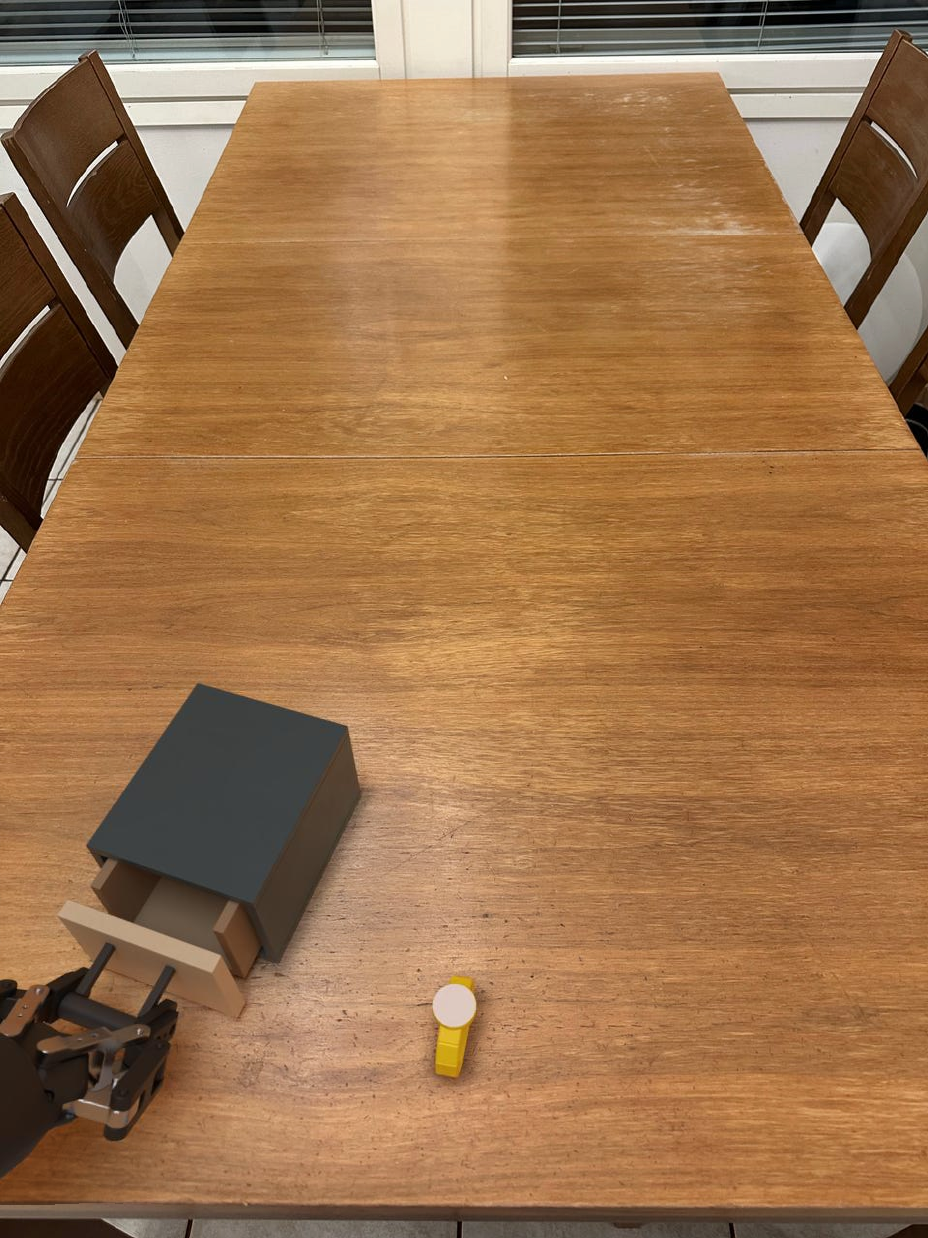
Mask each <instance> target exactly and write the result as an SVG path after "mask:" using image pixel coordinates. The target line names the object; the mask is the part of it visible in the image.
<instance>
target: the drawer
mask: <svg viewBox="0 0 928 1238" xmlns="http://www.w3.org/2000/svg"><path fill="white" fill-rule="evenodd" d="M89 887H90V889H92V892H93V893H94V894H95V895H96V897H97V898H98V900H99V901H100V903H101V904H102V906H103V907H104V909H105V910H106V911H107V913H106V912H104V911H101V910H98V909H95V908H92V907H90V906H88V905H84V904H82V903H79V902H77V901H73V900H71V899H67V900H66V901H65V902H64V904H63V906H62V907H61V908H60V910H59V911H58V913H57V914H56V917H58V920H60V922H61V923H62V924H63V925H64V926H65V928H66V929H67V930H68V931H69V933H70V934H71V936H72V937H73V938H74V939H75V940H76V942H77V944H78V945H79V946H80V947H81V948H82V949H83V951H84V952H85V954H87V956H88V957H89V958H90V960H91V961H92V964H91V966H90V967H89V970H88V972H87V973H86V975H85V977H84V978H83V980H82V981H81V983H80V985H79V986H78V988H77V989H76V991H75V992H76V993H74V992H70V993H68V994H67V995H66V996H65V997H64V998H63V999H62V1001H61V1003H60V1005H59V1008H58V1017H59V1018H60V1019H61V1020H63V1021H66V1022H68V1023H71V1024H74V1025H76V1026H78V1027H80V1028H83V1029H86V1030H87V1031H89V1030H92V1029H96V1028H99V1027H106V1028H107V1029H109V1030H110V1031H111V1032H112V1031H115V1030H118V1029H122V1028H125V1027H128V1026H132V1025H134V1023H135V1021H136V1020H137V1019H138V1018H140V1017H141V1016H143V1015H144V1014H145V1013H147V1012H148V1011H149V1010H151V1009H152V1008H153V1007H155V1006H156V1005H158V1004H159V1003H160V1002H161V999H162V997H163V995H164V993H165V992H168V993H170V994H172V995H175V996H178V997H179V998H183V999H186V1000H188V1001H191V1002H194V1003H196V1004H199V1005H202V1006H204V1007H207V1008H210V1009H212V1010H215V1011H217V1012H219V1013H220V1012H221V1013H223V1014H225V1015H227V1016H231V1017H233V1018H236V1019H238V1018H239V1015H240V1013H241V1012H242V1010H243V1008H244V1006H245V1003H246V1000H245V998H244V996H243V994H242V992H241V990H240V988H239V987H238V984H237V982H236V981H235V979H234V977H233V975H235V976H238V977H242V978H243V979H245V978H246V977H247V976H248V973H249V971H250V970H251V967H252V965H253V963H254V961H255V959H256V958H257V957H258V956H257V954H258V952H259V950H260V948H261V946H262V944H261V941H260V939H259V937H258V935H257V932H256V930H255V928H254V925H253V923H252V921H251V919H250V916H249V914H248V912H247V909H246V907H245V905H243V904H240V903H237V902H234V901H231V900H228V899H225V898H222V897H220V896H217V895H214V894H211V893H208V892H205V891H202V890H199V889H197V888H194V887H191V886H188V885H185V884H182V883H179V882H176V881H174V880H171V879H168V878H165V877H162V876H159V875H156V874H153V873H151V872H148V871H145V870H142V869H139V868H136V867H133V866H130V865H128V864H125V863H122V862H119V861H116V860H113V859H110V858H108V859H107V861H106V862H105V864H104V865H103V867H102V868H100V870H99V871H98V872H97V874H96V876H95V877H94V878H93V880H92V881H91V883H90V885H89ZM105 969H107V970H110V971H112V972H114V973H118V974H120V975H123V976H125V977H128V978H131V979H133V980H136V981H138V982H142V983H143V984H145V985H149V986H151V987H152V989H151V991H150V992H149V994H148V996H147V998H146V999H145V1001H144V1002H143V1005H142V1006H141V1008H140V1010H139V1011H138V1013H137V1015H136V1016H135V1015H133V1014H130V1013H128V1012H125V1011H123V1010H121V1009H118V1008H115V1007H113V1006H110V1005H108V1004H105V1003H102V1002H99V1001H97V1000H94V999H92V998H90V997H89V998H87V995H88V994H89V992H90V990H91V991H92V989H93V987H94V985H95V984H96V983H97V981H98V979H99V977H100V976H101V975H102V973H103V971H104V970H105Z"/></svg>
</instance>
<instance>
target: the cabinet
mask: <svg viewBox="0 0 928 1238" xmlns="http://www.w3.org/2000/svg"><path fill="white" fill-rule="evenodd" d="M350 735H351V734H350V731H349V726H348V725H346V724H343V723H340V722H335V721H332V720H329V719H325V718H321V717H318V716H315V715H311V714H307V713H304V712H301V711H297V710H293V709H290V708H286V707H283V706H279V705H276V704H273V703H269V702H266V701H262V700H259V699H255V698H252V697H248V696H245V695H242V694H238V693H235V692H231V691H228V690H225V689H220V688H217V687H214V686H210V685H207V684H203V683H199V682H197V683H196V684H195V686H194V687H193V689H192V691H191V692H190V693H189V695H188V696H187V698H186V699H185V700H184V702H183V703H182V705H181V707H180V708H179V709H178V711H177V712H176V714H175V715H174V716H173V718H172V719H171V721H170V723H169V724H168V725H167V727H166V728H165V730H164V731H163V733H162V734H161V736H160V737H159V739H158V740H157V741H156V743H155V744H154V746H152V749H150V751H149V753H148V754H147V756H146V757H145V759H144V760H143V761H142V763H141V765H140V766H139V768H138V769H137V770H136V772H135V773H134V775H133V776H132V778H131V779H130V780H129V782H128V783H127V785H126V787H124V789H123V790H122V792H121V794H120V795H119V796H118V798H117V799H116V801H115V802H114V803H113V805H112V807H111V808H110V810H109V811H108V812H107V813H106V816H105V817H104V818H103V820H102V821H101V822H100V824H99V826H98V827H97V829H96V830H95V831H94V833H93V835H92V836H91V837H90V839H89V840H88V842H87V843H86V845H85V847H86V848H87V850H88V852H89V853H90V854H91V856H92V858H93V859H94V861H95V862H96V864H97V865H98V867H99V869H101V868H102V867H103V865H104V864H105V862H106V861H107V859H108V858H110V859H113V860H116V861H119V862H122V863H125V864H128V865H130V866H133V867H136V868H139V869H142V870H145V871H148V872H151V873H153V874H156V875H159V876H162V877H165V878H168V879H171V880H174V881H176V882H179V883H182V884H185V885H188V886H191V887H194V888H197V889H199V890H202V891H205V892H208V893H211V894H214V895H217V896H220V897H222V898H225V899H228V900H231V901H234V902H237V903H240V904H243V905H245V907H246V909H247V912H248V914H249V916H250V919H251V921H252V923H253V925H254V928H255V930H256V932H257V935H258V937H259V939H260V941H261V944H262V946H261V948H260V950H259V952H258V954H257V956H256V957H257V958H260V959H262V960H263V959H264V960H266V961H269V962H272V963H274V964H276V965H278V964H279V963H280V962H281V959H282V958H283V955H284V953H285V952H286V950H287V948H288V945H289V944H290V941H291V940H292V938H293V936H294V933H295V931H296V929H297V927H298V925H299V923H300V921H301V919H302V917H303V915H304V913H305V912H306V909H307V907H308V905H309V903H310V900H311V899H312V897H313V894H314V893H315V890H316V889H317V887H318V884H319V883H320V880H321V879H322V876H323V874H324V872H325V870H326V868H327V866H328V864H329V862H330V860H331V858H332V856H333V854H334V852H335V850H336V848H337V846H338V844H339V842H340V840H341V838H342V836H343V834H344V831H345V830H346V828H347V825H348V824H349V822H350V820H351V818H352V815H353V814H354V812H355V809H356V807H357V805H358V804H359V801H360V799H361V797H362V793H361V787H360V781H359V777H358V772H357V771H358V770H357V767H356V761H355V756H354V750H353V746H352V742H351V736H350Z"/></svg>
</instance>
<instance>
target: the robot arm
mask: <svg viewBox="0 0 928 1238" xmlns="http://www.w3.org/2000/svg"><path fill="white" fill-rule="evenodd" d="M89 969H90V967H89V968H88V967H87V966H82V967H79V968H78V969H76V970H72V971H69V972H65V973H62V974H61V975H60V976H58V977H56V978H55V979H52V980H51V981H50V982H48V983H46V984H34V985H31V986H29V987H28V988H27V989H22V988H18V987H19V986H18V985H19V983H18V981H16V980H14V979H12V978H3V979H0V1180H1V1179H3V1178H4V1177H5V1176H7V1175H8V1174H9V1173H10V1172H11V1171H13V1170H14V1169H15V1168H16V1167H18V1166H19V1165H20V1164H21V1163H23V1161H25V1159H26V1158H28V1156H29V1155H30V1154H31V1153H32V1151H34V1150H35V1148H36V1147H37V1146H38V1144H39V1143H40V1142H41V1141H42V1140H43V1139H44V1137H45V1136H46V1135H47V1134H48V1133H49V1132H50V1131H53V1130H55V1129H56V1128H59V1127H63V1126H65V1125H69V1124H71V1123H73V1122H74V1121H76V1120H77V1119H78V1118H84V1119H86V1120H89V1121H94V1122H97V1123H101V1124H104V1126H103V1131H102V1136H103V1138H104V1139H105V1140H106V1141H109V1142H120V1141H123V1140H124V1139H125V1138H126V1137H127V1136H128V1134H129V1133H130V1132H131V1130H132V1129H133V1128H134V1127H135V1125H136V1123H137V1122H138V1121H139V1119H140V1118H141V1117H142V1115H143V1114H144V1112H146V1110H147V1108H148V1107H149V1105H150V1104H151V1103H152V1102H153V1100H154V1099H155V1097H156V1096H157V1094H158V1093H159V1092H160V1090H161V1089H162V1088H163V1085H164V1081H165V1072H166V1067H167V1063H168V1058H169V1055H170V1053H171V1048H172V1044H171V1042H170V1041H171V1040H172V1039H173V1038H174V1037H175V1034H176V1029H177V1025H178V1021H179V1020H178V1019H179V1015H180V1011H178V1005H179V1004H178V1002H177V1001H175V1000H173V999H170V998H167V997H166V998H164V999H163V1000H162V1001H159V1002H158V1004H157V1005H156V1006H155V1007H153V1008H152V1009H151V1010H149V1011H148V1012H147V1013H145V1014H144V1015H143V1016H141V1017H140V1018H138V1019H137V1020H136V1021H135V1023H134V1025H132V1026H128V1027H125V1028H122V1029H118V1030H115V1031H112V1032H111V1031H110V1030H109V1029H107V1028H106V1027H99V1028H96V1029H92V1030H86V1031H83V1032H79V1033H75V1034H71V1033H66V1032H61V1031H58V1030H57V1029H56V1028H54V1027H53V1026H52V1025H53V1024H54V1023H55V1022H57V1021H59V1020H60V1019H61V1018H59V1017H58V1008H59V1005H60V1003H61V1001H62V999H63V998H64V997H65V996H66V995H67V994H68V993H70V992H74V993H76V992H75V991H76V989H77V988H78V986H79V985H80V983H81V981H82V980H83V978H84V977H85V975H86V973H87V972H88V970H89ZM91 994H92V989H91V990H90V992H89V994H88V995H87V998H89V999H90V997H91ZM122 1050H124V1051H123V1055H122V1057H120V1058H116V1055H117V1054H118V1052H120V1051H122ZM90 1053H91V1055H90Z"/></svg>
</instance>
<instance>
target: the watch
mask: <svg viewBox="0 0 928 1238" xmlns="http://www.w3.org/2000/svg"><path fill="white" fill-rule="evenodd" d="M477 1005H478V1004H477V999H476V996H475V979H474V978H473V977H470V976H464V975H461V974H454V975H452V976H451V977H450V979H449V982H448V984H446V985H444V986H442V987H441V988H439V989H438V991H437V992H436V993H435V994H434V997H433V1000H432V1007H431V1008H432V1009H431V1010H432V1015H433V1018H434V1021H436V1023H437V1024H438V1026H439V1027H438V1034H437V1042H436V1051H435V1060H434V1065H435V1066H434V1067H435V1069H434V1070H435V1073H436V1074H437V1075H441V1076H442V1075H443V1076H448V1077H451V1078H458V1077H459V1076H460V1074H461V1070H462V1066H463V1063H464V1056H465V1051H466V1047H467V1040H468V1035H469V1030H470V1026H471V1024H472V1023H473V1021H474V1020H475V1019H476V1015H477V1009H478V1008H477Z"/></svg>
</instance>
